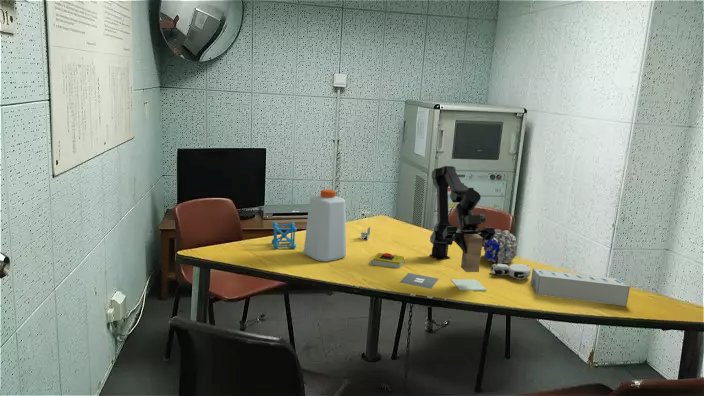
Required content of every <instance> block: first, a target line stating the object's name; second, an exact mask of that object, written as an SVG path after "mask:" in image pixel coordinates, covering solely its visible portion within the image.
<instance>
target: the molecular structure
mask: <svg viewBox="0 0 704 396" xmlns="http://www.w3.org/2000/svg"><path fill="white" fill-rule="evenodd" d="M271 226H272V227H273V238H272V240H271V243H272V244H273V245H272V248H273V249H274V250H277V249H279V248H290V249H293V250H294V249H296V248H297V244H296V243H295V241H296V240H295V238H296V237H295V236H296V233H295V232H297V229H298V228H297V227H296V224H295V222H290V223H278V222H276V221H273V223H272V224H271ZM279 226H280V227H281V226H287V227H288V228H282V227H281V228H279ZM283 231H285V232H283ZM278 233H279V234H281V235H280V236H279V237H278ZM288 234H290V238H289V237H288V236H287V235H288ZM284 239H286V240H284ZM280 243H289V244H290V245H285V244H284V245H279V244H280Z"/></svg>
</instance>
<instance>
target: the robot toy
mask: <svg viewBox="0 0 704 396" xmlns="http://www.w3.org/2000/svg"><path fill="white" fill-rule="evenodd" d="M490 269H491V271H490V273H491V274H492V275H496V276H501V277H502V276H508V275H509V276H510V277H511V278H514V279H516V280H517V281H518V280H519V281H522V280H524V279H527V278H529V277H530V276H531V272H532V271H531V270H532V269H531V268H530V264H521V263H520V264H519V263H512V264H510V265H508V264H507V263H501V264H499V263H494V264H491V268H490Z"/></svg>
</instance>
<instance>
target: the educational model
mask: <svg viewBox="0 0 704 396" xmlns="http://www.w3.org/2000/svg"><path fill="white" fill-rule="evenodd" d="M495 232H496V233H495V235H494V236H493V237H492V238H491V240H484V241H483V243H484V244H483V245H484V247H483V251H484V256H483V257H484V258H485V259H486V260H487V261H488V262H489V261H491V262H493V263H494V264H496V262H497V264H509V263H511V262H512V261H513V260H514V259H515V258H516V256H517V254H516V252H517V250H518V242H517V238H516V236H514V234H513V233H510V231H509V230H506V229H505V230H501V229H499V228H497V229H495Z"/></svg>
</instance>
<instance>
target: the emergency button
mask: <svg viewBox="0 0 704 396" xmlns="http://www.w3.org/2000/svg"><path fill="white" fill-rule="evenodd" d="M404 263H405V257H404V256H403V255H402V256H401V255H395V254H392V253H387V252H385V253H383V252H377V254H376V255H375V256H374V257H373V259H372V260H371V261H370V262H369V265H371V266H382V267H391V268H394V269H396V268H397V269H400V268H401V267H402V266H403V264H404Z"/></svg>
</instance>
